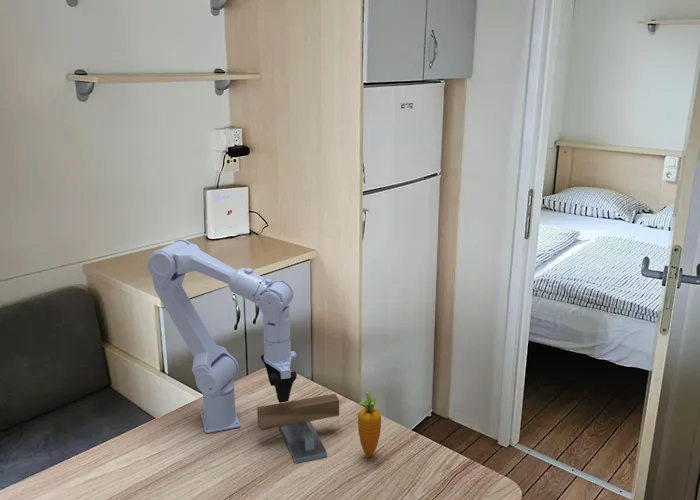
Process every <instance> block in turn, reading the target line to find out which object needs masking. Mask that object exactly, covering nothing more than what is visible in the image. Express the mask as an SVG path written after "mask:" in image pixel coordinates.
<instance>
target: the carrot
mask: <svg viewBox="0 0 700 500" xmlns="http://www.w3.org/2000/svg"><path fill="white" fill-rule="evenodd" d="M365 397H366V400H365V399H364V400H363V402H362V401H360V402H359V406H362V407H363V408H362V409H361V410H360V411H358V413H357V427H358V430H357V431H358V437H359V441H360V444H361V445H360V446H361V448H362V450H363V453H364V454H365V456H366V457H367V458H371V457H372V456H373V454H374V452H375V451H376V449H377V446H378V444H379V440H380V435H381V429H382V414H381V413H380V411H379V409H377V408H375V406H376V400H377V398H376V396H372V397H371V394H370V392H368V391H366V392H365Z"/></svg>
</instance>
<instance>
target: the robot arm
mask: <svg viewBox="0 0 700 500" xmlns="http://www.w3.org/2000/svg"><path fill="white" fill-rule="evenodd" d="M146 268H147V270H148V272H149V274H150V275H151V277H152V281H153V286H154V287H153V288H154V290H155V291H154V292H155V293H156V294H157V296H158V298H159V300H160V302H161V303H162V304H163V307H164V308H165V310H166V311H167V313H168V315H169V317H170V319H171V321H172V322H173V324H174V325H175V327H176V328H177V330H178V332H179V334H180V336H181V337H182V339H183V341H184V342H185V344H186V346H187V347H188V349H189V350H190V352H191V355H192V356H193V361H192V368H191V371H192V373H193V375H194V378H195V385H196V387H197V388H198V390H199V391H200V392H201V394H202V401H203V402H202V403H203V404H202V405H203V410H200V417H201V420H202V424H203V425H202V426H203V429H204V433H205V434H210V433H215V432H219V431H221V432H222V431H225V430H226V431H227V430H231V429H232V430H233V429H237V428H241V423H240V421H239V418H238V415H237V412H236V397H235V396H236V394H235V377H236V375H238V372H239V368H240V367H239V363H238V361H237V359H236V358H235V357H234V356H233V355H232V354H231V353H229V352H228V351H227V349H226V347H225V346H221V345H218V344H216V343H215V340H214V339H213V338H212V336H211V334H210V332H209V331H208V329H207V327H206V325H205V323H204V322H203V320H202V319H201V316H200V315H199V313H198V312H197V310H196V308H195V306H194V305H193V303H192V301H191V299H190V298H189V296H188V295H187V292H186V291H185V289H184V287H183V282H184V279H185V275H186V274H188V273H191V272H198V273H201V274H203V275H205V276H208V277H210V278H213V279H215V280H218V281H220V282H222V283H225V284H227V285H228V286H229V290H230V292H231V293H234V294H236V295H237V296H240V297H241V298H244V299H246V300H248V301H250V302H252V303H254V304H256V305H257V308H258V309H259V310H260V312H261V313H262V323H263V324H262V325H263V326H262V327H263V347H264V348H263V349H264V350H263V351H264V354H261V355H260V360H261V361H262V363H263V364H264V366H265V369H266V374H267V377H268V380H269V384H270V386H271V387H274V388H275V389H274V390H275V393H276V398H277V401H278V403H284V402H289V399H290V395H291V390H292V387H293V385H294V383H295V381H296V379H297V377H298V375H297V372H296V370H295V371H292V370H291V364H292V361H293V360H292V359H294V358H297V352H296V351H294V350H291V349H292V347H291V346H292V345H291V344H292V343H291V316H290V315H291V314H290V305H289V304H291V302H292V300H293V299H294V292H293V289H292V287H291V286H290V285H289V284H288V283H287V282H286V281H284V280H282V279H276V280H273V279H271V278H270V277H268V278H266V277H263V276H261V275H259V274H258V273H255V272H254V269H252V268H250V267H247V268H245V267H242V268H241V267H240V268H237V269H235V268H233V267H231V266H229V265H228V264H225V262H222V261H220V260H219V259H217V258H215V257H214V256H212V255H210V254H208V253H206V252H205V251H202V250H201V249H200V248H199V245H197V244H195V243H191V242H190V241H188V240H186V239H182V238H181V239H176V240H175V241H173V242H172V243H170V244H168V245H166V246H164V247H162V248H159V249H157V250H155V251H153V252H152V253H151V254H150V256H149V258H148V261H147V265H146Z"/></svg>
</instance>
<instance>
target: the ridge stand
mask: <svg viewBox="0 0 700 500" xmlns="http://www.w3.org/2000/svg"><path fill="white" fill-rule="evenodd" d="M278 428H279V431H280V432H281V434H282V437H283V439H284V441H285V443H286V446H287V448H288V450H289V452H290V454H291V457H292V459H293V461H294V464H296V465H297V464H300V463H305V462H309V461H314V460H320V459H324V458H327V457H328V452H327V450H326V448H325V446H324V444H323V442H322V440H321V438H320V437H319V435H318V433H317V431H316V429H315V427H314V425H313V423H312V421H308V422H303V423H298V424H292V425H287V426H282V427H278Z"/></svg>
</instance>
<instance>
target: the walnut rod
mask: <svg viewBox="0 0 700 500" xmlns="http://www.w3.org/2000/svg"><path fill="white" fill-rule="evenodd" d="M256 410H257V411H256V412H257V425H258V427H259V431H264V430H270V429H275V428H279V427H282V426H287V425H292V424H298V423H303V422H308V421H311V422H312V421H318V420H324V419H329V418H333V417H340V399H339V397H338V396H337V394H336V393H331V394H325V395H320V396H314V397H308V398H302V399H297V400H290V401H287V402H282V403H279V402H278V403H274V404H269V405H267V404H266V405H263V406H257V407H256Z"/></svg>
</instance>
